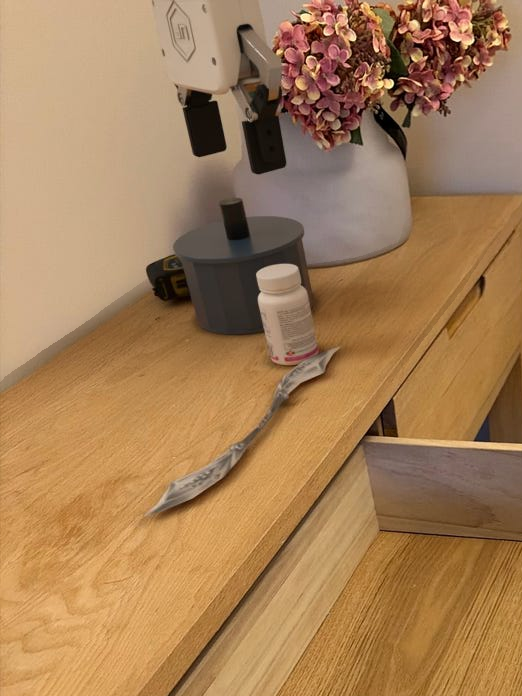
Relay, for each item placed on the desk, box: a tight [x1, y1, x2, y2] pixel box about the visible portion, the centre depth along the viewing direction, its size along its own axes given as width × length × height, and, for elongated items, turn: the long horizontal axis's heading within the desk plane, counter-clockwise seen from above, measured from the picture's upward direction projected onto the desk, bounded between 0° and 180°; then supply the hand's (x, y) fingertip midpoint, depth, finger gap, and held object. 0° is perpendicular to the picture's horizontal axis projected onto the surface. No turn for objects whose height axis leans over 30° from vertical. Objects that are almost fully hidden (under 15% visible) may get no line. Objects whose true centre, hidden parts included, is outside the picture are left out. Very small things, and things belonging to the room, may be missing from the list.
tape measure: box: [145, 253, 191, 302], centre depth 113 cm, size 7×7×4 cm
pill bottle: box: [256, 264, 319, 366], centre depth 94 cm, size 5×5×8 cm
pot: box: [181, 238, 314, 336], centre depth 105 cm, size 13×13×8 cm
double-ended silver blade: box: [143, 345, 342, 517], centre depth 86 cm, size 32×1×5 cm
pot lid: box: [172, 197, 305, 264], centre depth 102 cm, size 14×14×5 cm
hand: (239, 161), depth 85 cm, fingers open, 9 cm apart
